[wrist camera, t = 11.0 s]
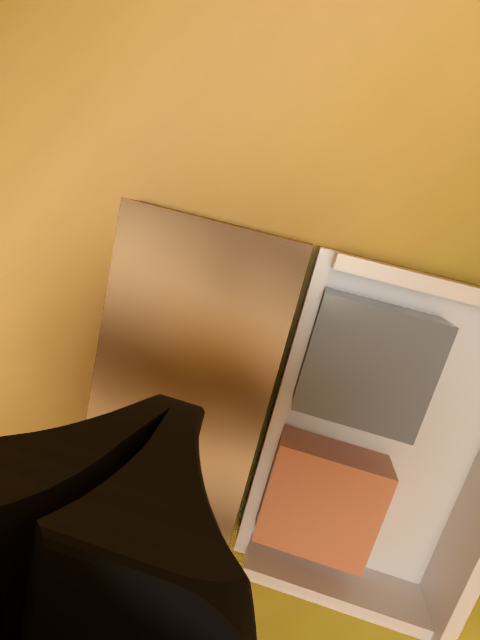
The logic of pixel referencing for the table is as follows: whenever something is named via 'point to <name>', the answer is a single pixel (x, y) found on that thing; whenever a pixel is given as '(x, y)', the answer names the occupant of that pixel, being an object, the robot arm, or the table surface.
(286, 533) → the tile terracotta
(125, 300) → the board
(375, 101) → the table surface
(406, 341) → the tile slate
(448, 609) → the tray
